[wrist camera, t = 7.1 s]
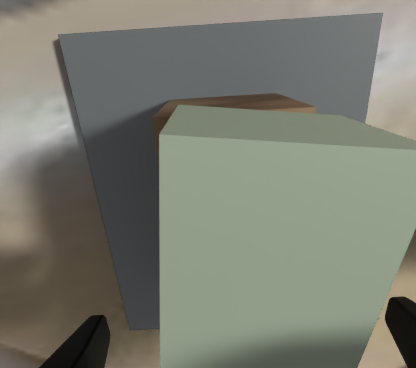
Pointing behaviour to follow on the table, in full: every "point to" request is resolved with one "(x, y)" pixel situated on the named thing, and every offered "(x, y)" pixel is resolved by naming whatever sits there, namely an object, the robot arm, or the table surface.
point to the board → (195, 88)
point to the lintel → (278, 236)
